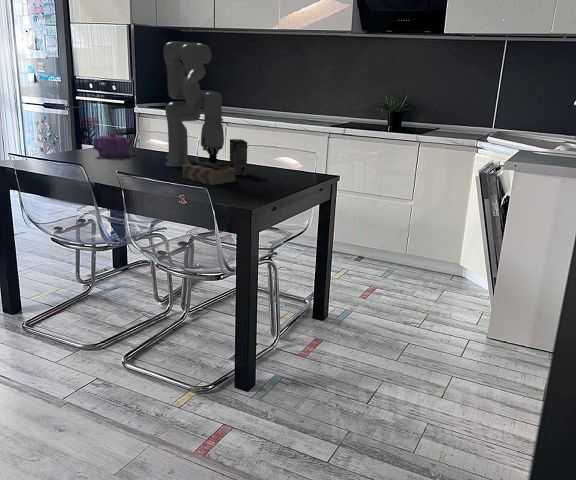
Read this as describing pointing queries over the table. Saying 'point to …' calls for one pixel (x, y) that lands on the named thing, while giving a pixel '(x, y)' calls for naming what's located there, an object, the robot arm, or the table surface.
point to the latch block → (209, 173)
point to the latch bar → (206, 164)
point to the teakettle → (112, 146)
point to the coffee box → (238, 156)
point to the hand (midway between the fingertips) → (212, 162)
